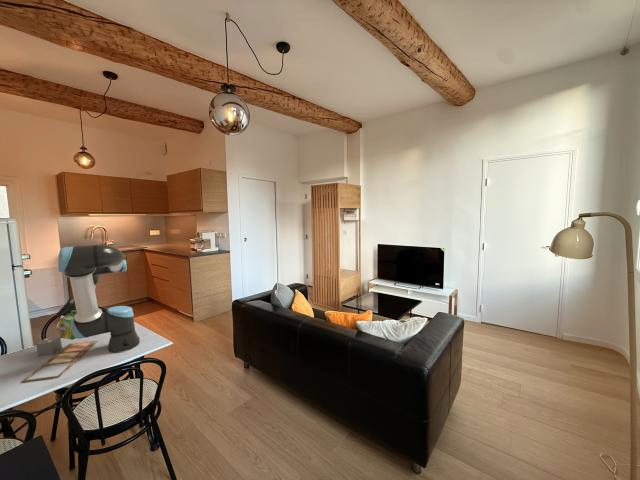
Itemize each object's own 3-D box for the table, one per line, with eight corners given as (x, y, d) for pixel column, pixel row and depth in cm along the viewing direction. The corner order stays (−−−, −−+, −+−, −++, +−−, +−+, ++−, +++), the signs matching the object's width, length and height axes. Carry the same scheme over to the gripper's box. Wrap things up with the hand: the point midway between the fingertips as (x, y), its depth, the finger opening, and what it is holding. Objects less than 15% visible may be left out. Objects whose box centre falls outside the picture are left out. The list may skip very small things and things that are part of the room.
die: (53, 354, 151) (51, 342, 150) (38, 356, 150) (36, 344, 149) (61, 347, 158) (60, 336, 157) (47, 349, 156) (45, 337, 155)
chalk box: (60, 338, 153) (56, 313, 151) (78, 330, 162) (75, 307, 160) (72, 340, 151) (68, 315, 149) (90, 332, 160) (86, 308, 157)
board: (58, 377, 131) (58, 375, 131) (21, 382, 127) (21, 380, 127) (97, 341, 164) (97, 340, 164) (69, 345, 161) (69, 343, 161)
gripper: (110, 293, 171) (98, 327, 158) (67, 295, 167) (51, 330, 154) (104, 287, 165) (91, 322, 152) (59, 289, 161) (41, 326, 148)
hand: (71, 326), depth 153 cm, fingers closed on chalk box, 12 cm apart
